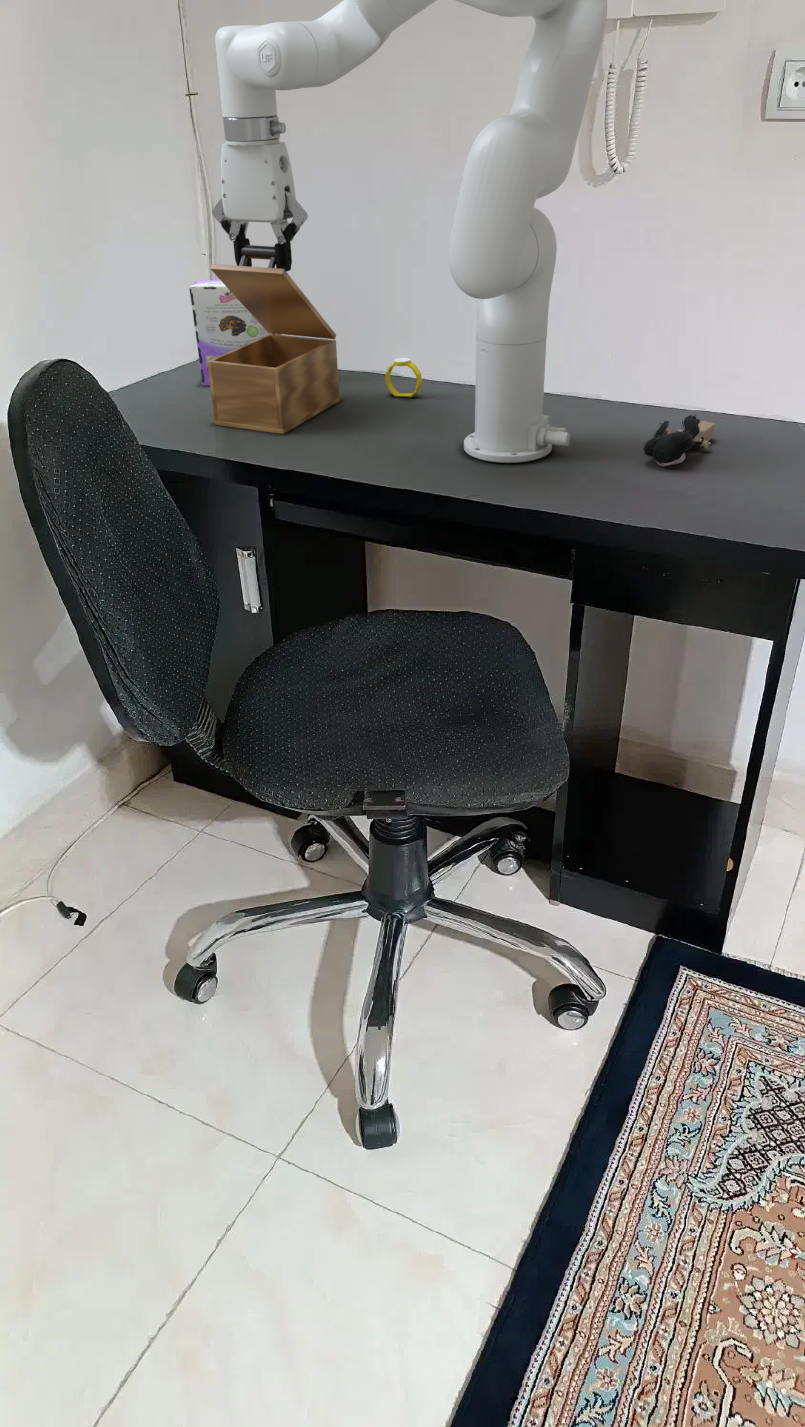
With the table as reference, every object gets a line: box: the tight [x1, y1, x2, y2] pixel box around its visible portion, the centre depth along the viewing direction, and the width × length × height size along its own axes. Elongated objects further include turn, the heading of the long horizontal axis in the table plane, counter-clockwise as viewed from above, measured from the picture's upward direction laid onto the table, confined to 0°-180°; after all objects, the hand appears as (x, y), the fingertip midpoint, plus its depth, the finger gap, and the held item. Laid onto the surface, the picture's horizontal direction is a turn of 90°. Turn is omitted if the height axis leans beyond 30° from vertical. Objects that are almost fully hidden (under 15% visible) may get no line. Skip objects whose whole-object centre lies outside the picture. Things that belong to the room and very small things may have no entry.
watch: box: [384, 357, 423, 398], centre depth 171 cm, size 6×3×6 cm, turn 66°
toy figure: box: [643, 414, 716, 468], centre depth 145 cm, size 7×6×15 cm
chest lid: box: [210, 244, 337, 340], centre depth 159 cm, size 19×12×5 cm
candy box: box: [188, 279, 282, 387], centre depth 177 cm, size 14×6×16 cm, turn 84°
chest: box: [207, 334, 340, 435], centre depth 164 cm, size 18×12×10 cm
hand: (264, 269), depth 154 cm, fingers closed on chest lid, 6 cm apart
